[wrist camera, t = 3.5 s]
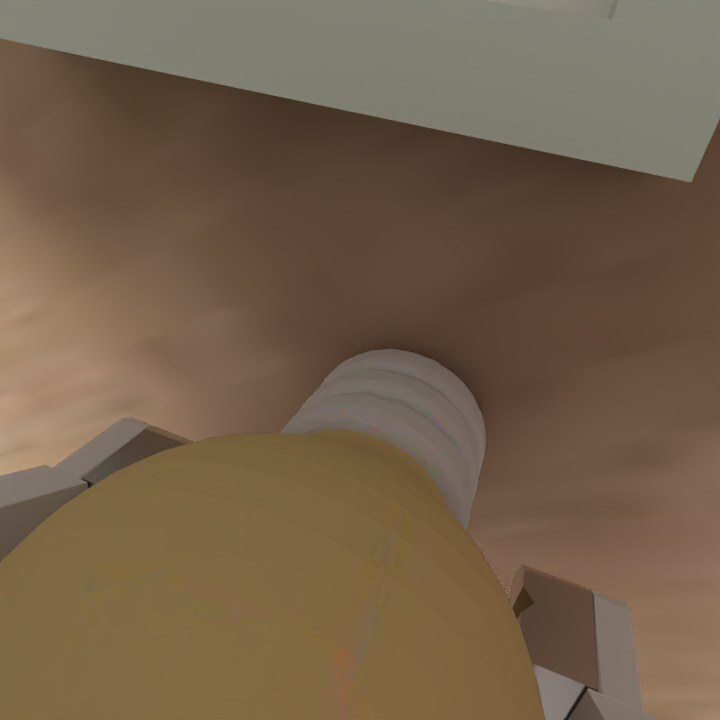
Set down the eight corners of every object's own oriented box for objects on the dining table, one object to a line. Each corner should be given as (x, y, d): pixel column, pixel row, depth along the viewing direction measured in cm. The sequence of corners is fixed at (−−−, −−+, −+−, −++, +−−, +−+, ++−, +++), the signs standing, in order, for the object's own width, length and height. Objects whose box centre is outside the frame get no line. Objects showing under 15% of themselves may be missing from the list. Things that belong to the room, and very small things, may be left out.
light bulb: (592, 515, 11) (677, 1717, 3) (337, 538, 14) (4, 1189, 6) (504, 230, 10) (53, 1234, 1) (232, 322, 12) (-492, 805, 4)
